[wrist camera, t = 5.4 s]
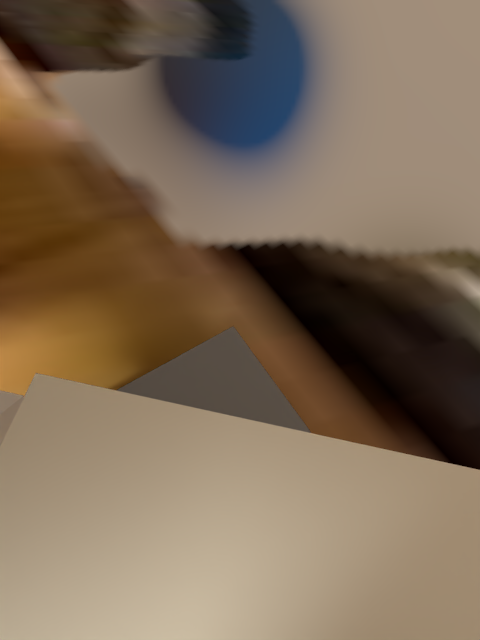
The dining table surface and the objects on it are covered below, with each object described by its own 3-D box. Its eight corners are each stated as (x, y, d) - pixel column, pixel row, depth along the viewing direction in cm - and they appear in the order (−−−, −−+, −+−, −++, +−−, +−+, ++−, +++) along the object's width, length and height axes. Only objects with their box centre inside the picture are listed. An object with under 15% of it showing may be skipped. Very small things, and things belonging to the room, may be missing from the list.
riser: (159, 869, 12) (153, 962, 9) (3, 478, 17) (-30, 470, 14) (401, 598, 17) (442, 611, 14) (226, 350, 21) (233, 326, 19)
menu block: (305, 629, 13) (549, 824, 4) (79, 583, 13) (-124, 701, 4) (314, 504, 15) (494, 472, 6) (119, 463, 15) (35, 373, 6)
